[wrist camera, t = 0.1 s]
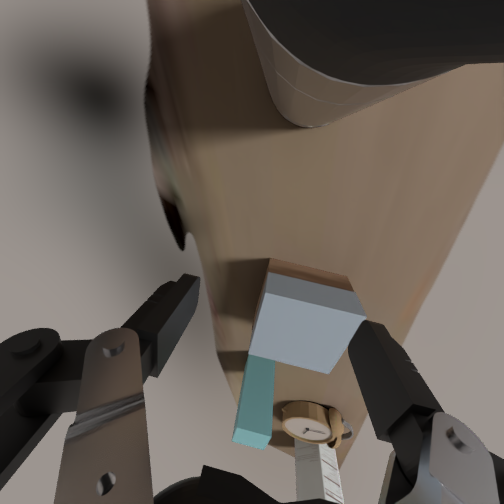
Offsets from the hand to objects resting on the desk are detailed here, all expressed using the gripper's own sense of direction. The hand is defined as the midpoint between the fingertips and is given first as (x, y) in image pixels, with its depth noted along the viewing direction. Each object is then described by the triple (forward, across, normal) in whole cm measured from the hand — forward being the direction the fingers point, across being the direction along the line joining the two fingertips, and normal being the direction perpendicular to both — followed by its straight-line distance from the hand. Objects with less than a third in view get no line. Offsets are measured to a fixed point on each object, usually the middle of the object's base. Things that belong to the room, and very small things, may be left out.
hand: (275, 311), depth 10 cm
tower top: (+14, -6, +12) cm, 19 cm away
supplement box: (+21, -24, +55) cm, 64 cm away
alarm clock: (+21, -20, +43) cm, 52 cm away
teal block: (+19, -4, +29) cm, 35 cm away
